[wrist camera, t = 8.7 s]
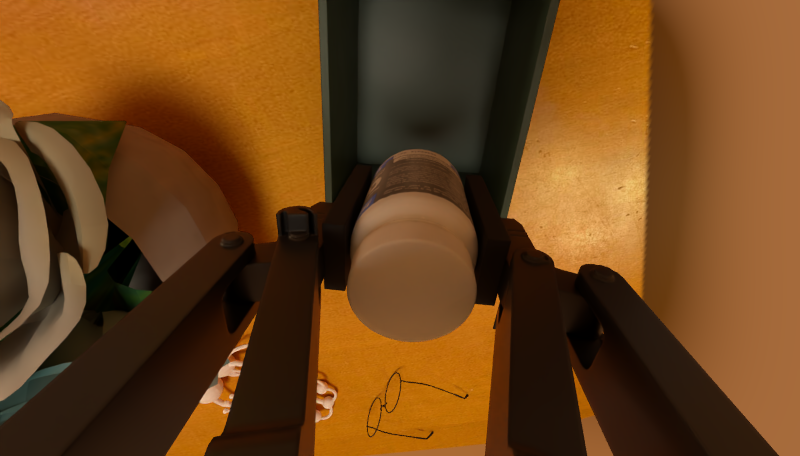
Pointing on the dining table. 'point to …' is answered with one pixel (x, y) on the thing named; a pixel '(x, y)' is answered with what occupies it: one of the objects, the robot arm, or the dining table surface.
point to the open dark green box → (431, 84)
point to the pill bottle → (413, 250)
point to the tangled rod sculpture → (229, 370)
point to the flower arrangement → (88, 236)
